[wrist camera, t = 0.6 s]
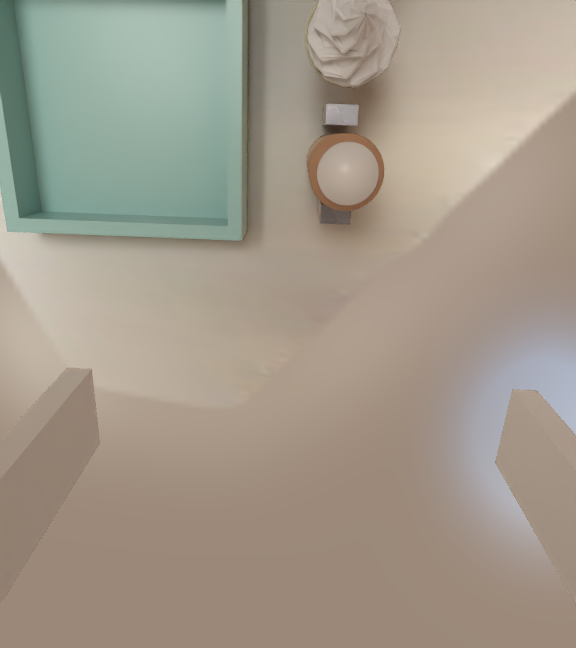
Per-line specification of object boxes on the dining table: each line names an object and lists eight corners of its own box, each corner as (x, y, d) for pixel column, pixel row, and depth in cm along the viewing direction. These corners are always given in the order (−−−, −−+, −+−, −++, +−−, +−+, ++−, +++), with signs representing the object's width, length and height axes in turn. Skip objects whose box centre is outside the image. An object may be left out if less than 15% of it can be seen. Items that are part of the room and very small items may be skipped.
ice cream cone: (319, 108, 37) (330, 94, 23) (293, 35, 36) (289, -27, 22) (384, 79, 37) (437, 47, 23) (361, 4, 35) (402, -82, 21)
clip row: (335, -131, 33) (343, -186, 27) (367, -130, 33) (381, -185, 27) (317, 210, 40) (320, 223, 34) (342, 211, 40) (349, 224, 34)
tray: (-1, -29, 35) (-37, -48, 31) (248, -20, 35) (242, -39, 31) (34, 222, 41) (7, 231, 37) (247, 230, 41) (241, 240, 37)
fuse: (308, 132, 38) (311, 132, 26) (361, 134, 38) (390, 135, 26) (305, 187, 39) (307, 211, 28) (357, 189, 39) (382, 214, 27)
